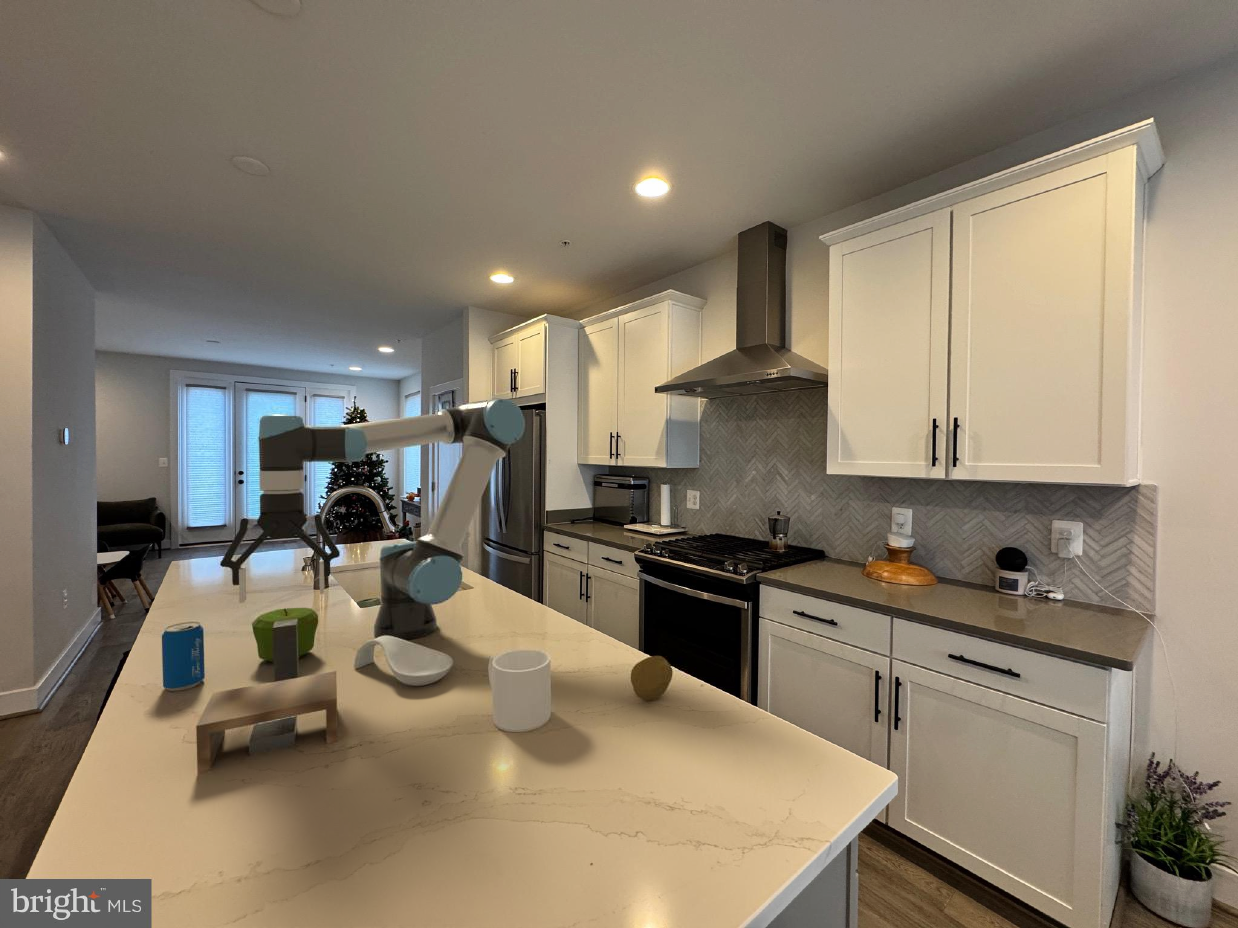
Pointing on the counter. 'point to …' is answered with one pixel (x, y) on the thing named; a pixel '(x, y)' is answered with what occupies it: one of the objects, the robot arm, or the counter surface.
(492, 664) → the mug
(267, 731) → the block
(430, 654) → the spoon rest
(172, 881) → the counter surface
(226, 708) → the walnut shelf
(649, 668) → the potato
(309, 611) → the apple
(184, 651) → the beverage can
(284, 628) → the grey metal prism
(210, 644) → the counter surface
